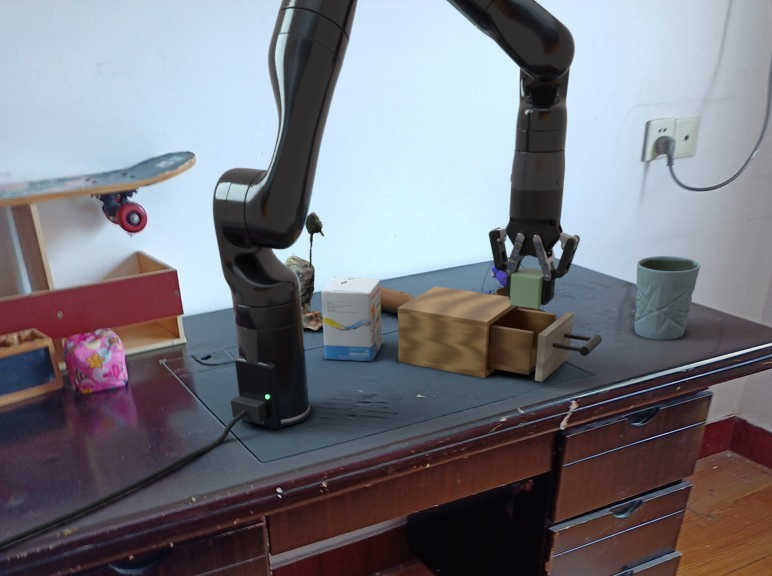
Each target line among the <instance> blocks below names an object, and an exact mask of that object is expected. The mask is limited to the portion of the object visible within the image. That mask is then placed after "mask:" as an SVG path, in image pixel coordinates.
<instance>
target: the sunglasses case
mask: <svg viewBox="0 0 772 576" xmlns="http://www.w3.org/2000/svg"><path fill="white" fill-rule="evenodd" d="M380 295H381V311H386V312H390V313H392V314H395V315H398V307H400V306H402V305H404V304H405V303H407V302H409V301H411V300H413V299H414V298H415V297H413V295H412V294H411V293H410V292H404V291H403V290H396V289H392V288H389V287H385V286H381V285H380Z"/></svg>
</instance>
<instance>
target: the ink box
mask: <svg viewBox="0 0 772 576" xmlns="http://www.w3.org/2000/svg"><path fill="white" fill-rule="evenodd" d="M380 286H381V278H373V277H358V276H357V277H356V276H355V277H354V276H345V277H333V278H332V279H331V280H330V281H329V282H328V283H327V284H326V285H325V286H324V287H323V288H322V289H321V290H320V293H321V309H322V310H321V314H322V317H323V326H322V332H323V350H324V359H325V360H340V361H357V362H373V361H374V359H375V358H376V356H377V354H378V353H379V350H380V348H381V347H382V345H383V341H382V339H383V338H382V309H381V295H380Z"/></svg>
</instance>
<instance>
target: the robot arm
mask: <svg viewBox="0 0 772 576" xmlns="http://www.w3.org/2000/svg"><path fill="white" fill-rule="evenodd" d="M445 1H446V2H448V4H449V5H451V6H452V7H453V8H454V9H455V10H456V11H457V12H458V13H460V14H461V16H463V17H464V18H465V19H466V20H467V22H469V23H471V24H472V25H473V27H475V28H476V29H478V30H479V31H480V32H481V33H482V34H484V35H485V36H486V37H488V38H490V39H491V40H492V41H494V43H496V45H497V46H498V47H499V48H500V49H501V50H502V51H503V53H505V54H506V55H507V56H508V57H509V58H510V60H512V62H514V64H516V66H517V67H519V89H518V90H519V95H518V96H519V102H518V103H519V104H518V108H517V114H516V120H515V121H516V123H515V133H514V134H515V136H514V151H513V152H514V153H513V159H512V163H511V174H510V180H509V181H510V197H509V210H508V212H509V213H508V216H509V220H508V222H507V225H506V226H505V227H499V226H498V227H496V228H494V229H492V230H490V231H489V232H488V239H489V244H490V249H491V254H492V259H493V262H494V263H493V266H494V265H495V269H496V270H498V271H500V270H501V271H503V272H504V273H505V274H506V276H507V282H506V295H507V296H509V300H510V289H511V275H512V274H514V273H515V272H517V271H518V270H520V269H521V268H520V267H521V265H522V262H523V261H524V259H525V257H527V256H530V257H532V258H536V259H537V261H538V265H539V266H540V268H541V269H540V270H542V273H543V277H544V280H543V281H542V292H541V305H542V306H547V305H548V304H549V303H550V302H551V301H552V300H553V299H554V296H555V287H556V286H555V285H556V279H562V278H563V277H564V276H565V275H568V273H569V271H570V268H571V266H572V263H573V260H574V258H575V255H576V252H577V249H578V247H579V244H580V241H581V237H580V235H578V234H574V235H570V234H568V233H566V232H564V231H563V228H562V225H561V219H562V210H563V199H564V188H565V187H564V186H565V175H566V174H565V173H566V146H567V145H566V144H567V143H566V142H567V132H568V131H567V130H568V106H567V98H568V90H569V80H570V71H571V65H572V64H573V61H574V58H575V52H576V44H575V39H574V37H573V34H572V32H571V30H570V29H569V28H568V27H567V26H566V25H565V24H564V23H563V22H562V21H561V20H559V19H558V18H557V17H556V16H554V15H553V14H552V13H551V12H550V11H548V10H547V9H546V8H545V7H544V6H542V5H541V4H540V3H539V2H538V1H536V0H445ZM358 2H359V0H281V3H280V6H279V9H278V12H277V16H276V19H275V23H274V26H273V30H272V34H271V38H270V42H269V46H268V53H267V68H268V75H269V81H270V86H271V90H272V94H273V98H274V101H275V105H276V111H277V117H278V121H277V122H278V123H277V124H278V125H277V126H278V128H277V133H276V134H277V135H276V140H275V144H274V148H273V151H272V152H273V153H272V156H271V160H270V163H269V165H268V167H267V169H260V168H251V167H233V168H230V169H227V170H226V171H224V172H222V174H221V175H220V176H219V178H218V179H217V180H216V181H217V182H216V183H215V186H214V190H213V193H212V219H213V227H214V232H215V238H216V243H217V249H218V255H219V259H220V260H219V261H220V264H221V271H222V275H223V278H224V280H225V282H226V284H227V285H228V288H229V290H230V295H231V301H232V309H233V316H234V324H235V325H234V326H235V333H236V341H237V348H238V357H236V358H235V360H234V365H235V372H236V380H237V388H238V396H236V397H234V398H232V399H230V406H231V413H232V419H231V420H230V421H229V423H228V424H227V425H226V426H225V428H224V429H223V432H222V433H221V435H220V436H219V437H217V439H215V440H214V441H213V442H211V443H210V444H208V445H205V446H203V447H201V448H198V449H196V450H193V451H190V452H189V453H186V454H185V455H182V456H181V457H179V458H176V459H175V460H174V461H172V462H170V463H168V464H166V465H164V466H162V467H160V468H159V469H156V470H154V471H153V472H151V473H149V474H147V475H145V476H143V477H141V478H139V479H137V480H135V481H133V482H130V483H129V484H127V485H125V486H123V487H121V488H119V489H116V490H114V491H112V492H111V493H108V494H106V495H103V496H102V497H99V498H97V499H95V500H93V501H90V502H89V503H87V504H84V505H82V506H80V507H78V508H75V509H73V510H71V511H68V512H66V513H63V514H62V515H59V516H56V517H54V518H52V519H50V520H47V521H45V522H42V523H40V524H37V525H35V526H33V527H30V528H28V529H25V530H23V531H20V532H18V533H16V534H13V535H11V536H8V537H5V538H3V539H0V548H2V547H5V546H7V545H10V544H12V543H15V542H17V541H19V540H22V539H25V538H27V537H29V536H31V535H34V534H36V533H38V532H41V531H43V530H46V529H49V528H51V527H53V526H56V525H58V524H60V523H62V522H65V521H67V520H69V519H72V518H73V517H76V516H78V515H82V514H83V513H85V512H87V511H90V510H91V509H94V508H96V507H98V506H100V505H102V504H105V503H107V502H109V501H111V500H113V499H116V498H118V497H119V496H122V495H123V494H125V493H128V492H130V491H131V490H133V489H136V488H138V487H140V486H141V485H143V484H145V483H148V482H150V481H152V480H153V479H155V478H157V477H159V476H161V475H163V474H164V473H166V472H168V471H171V470H172V469H174V468H176V467H177V466H179V465H181V464H183V463H184V462H186V461H189V460H190V459H193V458H194V457H196V456H200V455H203V454H204V453H207V452H209V451H210V450H212V449H213V448H216V447H217V446H219V445H220V444H221V443H222V442H224V440H225V439H227V437H228V436H229V433H230V432H231V430H232V429H233V427H234V426H235V425H236V424H237V423H238V422H239V421H240V420H242V422H244V423H247V424H251V425H256V426H259V427H262V428H263V427H264V428H267V429H271V430H279V429H280V428H282V427H287V426H292V425H296V424H299V423H301V422H303V421H305V420H306V419H307V418H309V416H310V415H311V404H310V399H309V385H308V373H307V360H306V348H305V334H304V327H303V321H302V307H301V296H300V284H299V278H298V276H297V274H296V273H295V272H294V271H293V270H291V269H290V268H289V267H287V266H286V265H284V264H285V263H283V262H282V261H281V260H280V258H279V257H278V256H277V255H276V254H275V252H274V250H277V251H279V250H281V251H282V250H287V249H289V248H291V247H293V246H294V245H295V244H296V243H297V242H298V240H299V238H300V237H301V235H302V232H303V231H304V229H305V227H306V226H305V223H306V220H307V216H308V215H309V212H310V206H311V201H312V197H313V191H314V184H315V180H316V174H317V168H318V163H319V157H320V152H321V146H322V143H323V138H324V134H325V129H326V125H327V121H328V117H329V114H330V109H331V105H332V103H333V102H332V101H333V99H334V94H335V91H336V88H337V84H338V81H339V78H340V75H341V72H342V68H343V65H344V62H345V58H346V56H347V55H346V54H347V51H348V47H349V45H350V41H351V40H350V39H351V35H352V30H353V26H354V23H355V22H354V21H355V17H356V11H357V8H358V7H357V6H358ZM507 238H508V240H509V241H510V243H511V244H512V246H513V247H512V250H511V252H510V255H509V256H508V253H507V247H506V241H507ZM559 242H560V249H561V250H562V253H561V256H560V258H559V262H558V264H557V266H556V262H555V261H556V256H555V252H554V247H555V246H556V244H557V243H559ZM507 257H509V258H507Z"/></svg>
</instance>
